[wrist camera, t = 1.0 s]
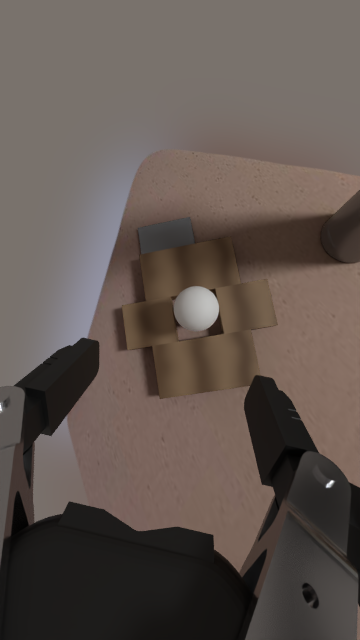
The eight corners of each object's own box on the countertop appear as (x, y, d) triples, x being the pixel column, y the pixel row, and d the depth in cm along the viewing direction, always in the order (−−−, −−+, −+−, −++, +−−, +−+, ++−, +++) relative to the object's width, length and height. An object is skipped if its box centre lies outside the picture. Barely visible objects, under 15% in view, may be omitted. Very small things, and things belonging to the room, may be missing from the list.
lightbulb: (217, 330, 34) (226, 323, 23) (183, 337, 35) (176, 334, 24) (209, 296, 35) (214, 274, 24) (176, 304, 36) (166, 286, 25)
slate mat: (190, 218, 37) (190, 216, 37) (198, 263, 36) (198, 262, 35) (138, 229, 38) (137, 228, 37) (145, 274, 37) (144, 273, 36)
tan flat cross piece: (252, 238, 36) (256, 231, 33) (283, 376, 32) (290, 379, 30) (121, 264, 37) (116, 259, 35) (138, 398, 34) (134, 402, 32)
